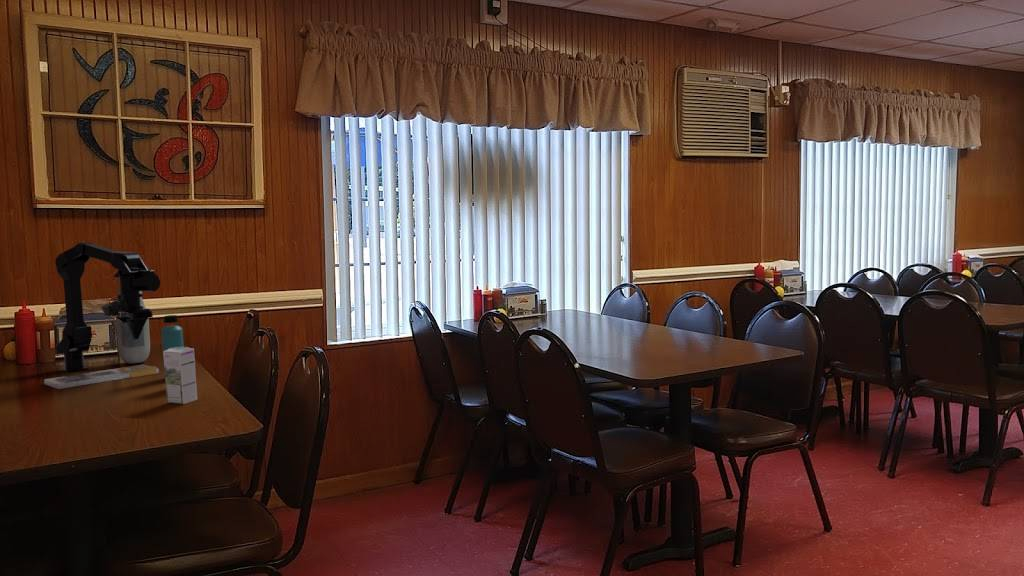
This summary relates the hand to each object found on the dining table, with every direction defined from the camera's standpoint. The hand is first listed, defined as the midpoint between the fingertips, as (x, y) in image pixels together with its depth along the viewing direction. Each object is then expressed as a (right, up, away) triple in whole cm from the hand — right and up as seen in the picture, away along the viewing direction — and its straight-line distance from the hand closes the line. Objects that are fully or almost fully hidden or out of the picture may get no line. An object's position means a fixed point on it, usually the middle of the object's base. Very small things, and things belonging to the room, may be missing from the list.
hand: (132, 338), depth 253 cm
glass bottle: (-9, -10, +20) cm, 25 cm away
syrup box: (+35, -15, -43) cm, 57 cm away
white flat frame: (-6, -12, -6) cm, 15 cm away
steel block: (0, -3, 0) cm, 2 cm away
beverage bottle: (+18, -12, -9) cm, 24 cm away
